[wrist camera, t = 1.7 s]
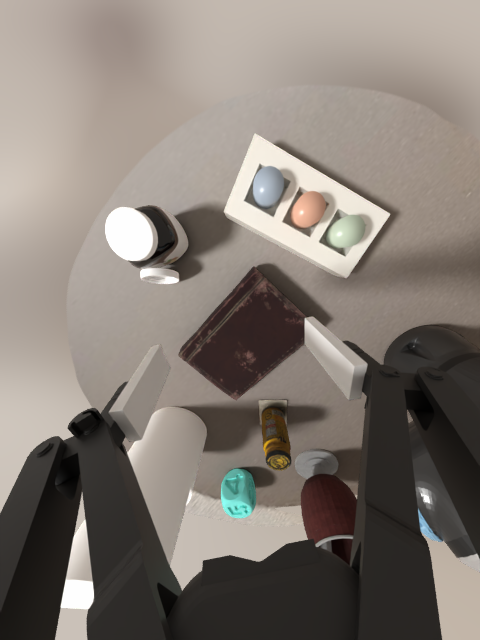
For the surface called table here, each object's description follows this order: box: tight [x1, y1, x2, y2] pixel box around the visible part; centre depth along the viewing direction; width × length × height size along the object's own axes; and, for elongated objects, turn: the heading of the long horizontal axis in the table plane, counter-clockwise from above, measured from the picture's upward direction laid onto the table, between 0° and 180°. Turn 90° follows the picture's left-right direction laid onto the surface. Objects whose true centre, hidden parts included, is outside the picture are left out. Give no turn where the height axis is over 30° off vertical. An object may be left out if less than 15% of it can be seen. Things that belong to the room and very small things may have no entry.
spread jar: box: [105, 205, 188, 284], centre depth 31 cm, size 12×11×12 cm
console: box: [224, 134, 390, 278], centre depth 31 cm, size 24×11×4 cm, turn 64°
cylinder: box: [61, 407, 207, 609], centre depth 38 cm, size 17×17×28 cm
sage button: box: [326, 215, 365, 248], centre depth 28 cm, size 4×4×3 cm
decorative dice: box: [221, 468, 256, 518], centre depth 53 cm, size 8×8×8 cm
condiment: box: [259, 400, 291, 471], centre depth 42 cm, size 7×8×12 cm
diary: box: [179, 267, 307, 400], centre depth 39 cm, size 19×25×5 cm
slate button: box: [253, 166, 284, 209], centre depth 27 cm, size 4×4×3 cm
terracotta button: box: [290, 191, 326, 229], centre depth 28 cm, size 4×4×3 cm
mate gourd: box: [295, 449, 357, 566], centre depth 43 cm, size 16×14×20 cm
